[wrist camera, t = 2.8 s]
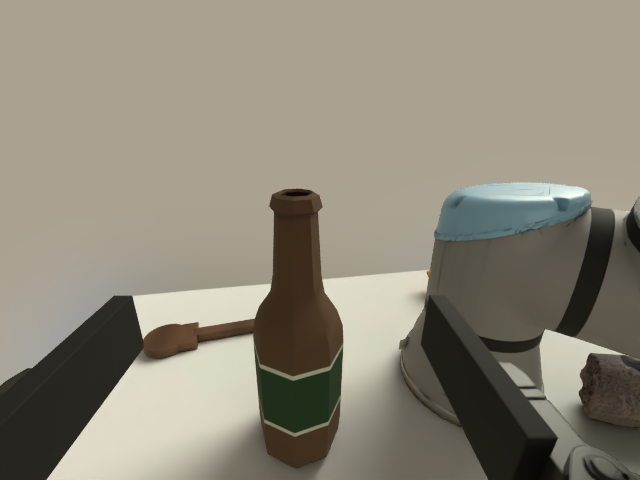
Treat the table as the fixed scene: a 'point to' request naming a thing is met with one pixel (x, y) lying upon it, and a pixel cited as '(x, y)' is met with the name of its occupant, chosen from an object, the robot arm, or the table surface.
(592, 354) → the perforated stone tool
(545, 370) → the table surface
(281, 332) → the beer bottle
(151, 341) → the wooden spoon
